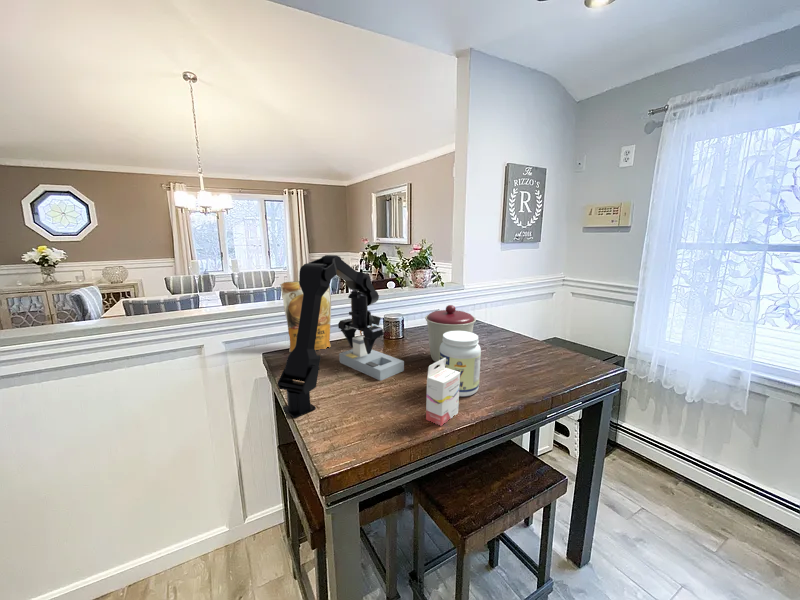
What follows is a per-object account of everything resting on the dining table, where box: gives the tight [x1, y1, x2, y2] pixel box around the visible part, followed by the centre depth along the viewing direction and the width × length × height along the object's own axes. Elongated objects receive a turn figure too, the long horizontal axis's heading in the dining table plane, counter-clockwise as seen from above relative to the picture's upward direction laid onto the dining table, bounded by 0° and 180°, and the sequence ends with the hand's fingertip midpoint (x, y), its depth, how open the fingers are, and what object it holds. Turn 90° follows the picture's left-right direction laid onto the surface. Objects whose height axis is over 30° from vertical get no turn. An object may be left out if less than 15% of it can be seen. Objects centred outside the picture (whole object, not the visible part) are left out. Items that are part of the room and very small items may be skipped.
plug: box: [352, 334, 367, 357], centre depth 120 cm, size 4×4×9 cm
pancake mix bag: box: [280, 280, 332, 353], centre depth 132 cm, size 7×19×28 cm, turn 110°
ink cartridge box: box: [425, 358, 460, 427], centre depth 84 cm, size 9×5×15 cm, turn 141°
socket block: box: [338, 348, 405, 382], centre depth 117 cm, size 22×11×4 cm, turn 46°
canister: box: [424, 304, 477, 363], centre depth 121 cm, size 18×18×21 cm
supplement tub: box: [438, 331, 482, 397], centre depth 100 cm, size 12×12×17 cm
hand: (360, 350), depth 120 cm, fingers open, 9 cm apart
